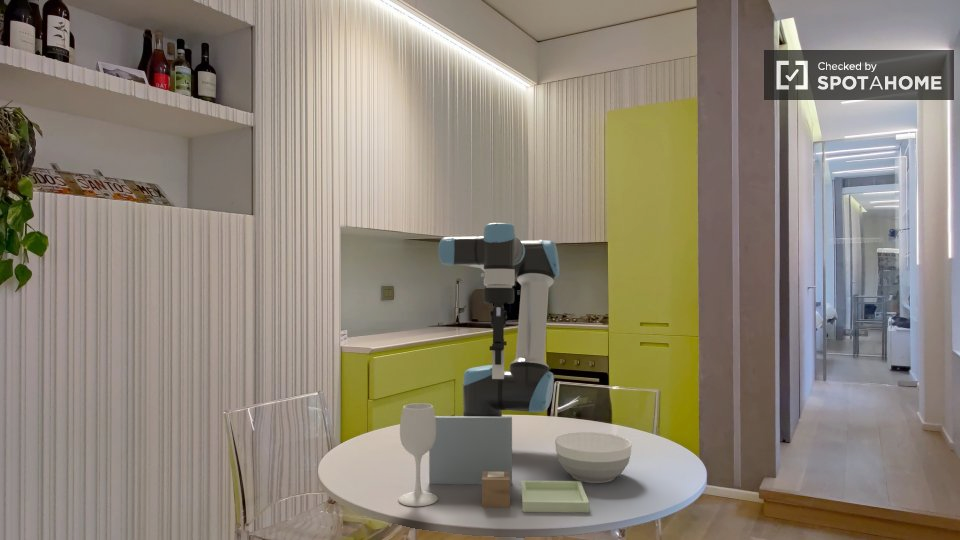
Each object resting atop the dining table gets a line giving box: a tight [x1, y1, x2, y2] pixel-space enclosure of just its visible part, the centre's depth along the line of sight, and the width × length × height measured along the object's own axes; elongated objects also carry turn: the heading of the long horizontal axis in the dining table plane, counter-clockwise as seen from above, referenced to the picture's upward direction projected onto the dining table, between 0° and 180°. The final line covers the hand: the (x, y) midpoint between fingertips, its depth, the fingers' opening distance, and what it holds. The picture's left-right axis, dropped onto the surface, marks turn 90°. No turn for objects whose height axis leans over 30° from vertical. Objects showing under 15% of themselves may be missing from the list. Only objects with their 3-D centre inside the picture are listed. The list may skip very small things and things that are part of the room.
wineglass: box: [398, 402, 438, 507], centre depth 140 cm, size 9×9×21 cm
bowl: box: [554, 431, 632, 484], centre depth 157 cm, size 19×19×9 cm
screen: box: [428, 415, 513, 486], centre depth 151 cm, size 20×2×16 cm, turn 88°
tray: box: [520, 480, 590, 514], centre depth 140 cm, size 14×14×2 cm
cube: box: [481, 471, 511, 508], centre depth 139 cm, size 6×6×6 cm
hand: (498, 375), depth 151 cm, fingers open, 13 cm apart
